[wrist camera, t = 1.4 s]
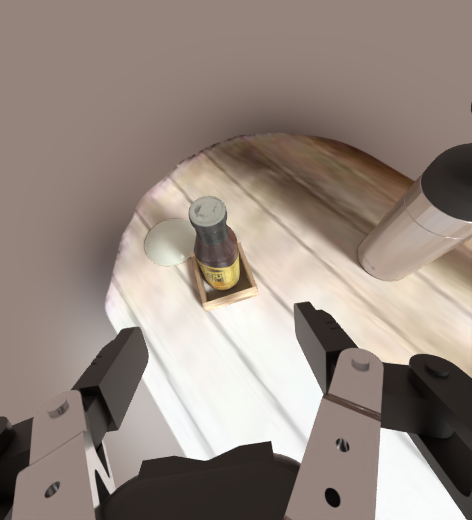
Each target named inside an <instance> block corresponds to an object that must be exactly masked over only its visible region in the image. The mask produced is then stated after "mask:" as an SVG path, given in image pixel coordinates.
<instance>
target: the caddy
mask: <svg viewBox="0 0 472 520" xmlns="http://www.w3.org/2000/svg"><path fill="white" fill-rule="evenodd" d="M237 243H238V250H239V257H240V260H241V262H242V265H243V268H244V270H245V273H246V276H247V279H248V281H249V284H250V287H251V288H249V289H246V290H243V291H240V292H237V293H234V294H230V295H227V296H224V297H221V298H218V299H215V300H212V301H209V302H208V298H207V295H206V291H205V287H204V283H203V279H202V276H201V272H200V268H199V264H198V261H197V259H196V257H195V254H194V253H192V254H190V256H191V260H192V264H193V268H194V272H195V276H196V280H197V284H198V288H199V292H200V296H201V300H202V304H203V308H204V309H205V310H206V311H207V312H208V311H211V310H214V309H217V308H220V307H223V306H226V305H229V304H232V303H235V302H238V301H241V300H244V299H247V298H251V297H254V296H257V295H258V288H257V285H256V283H255V280H254V278H253V275H252V272H251V270H250V267H249V264H248V262H247V259H246V257H245V254H244V251H243V249H242V246H241V243H240V241H239V239H238V240H237Z"/></svg>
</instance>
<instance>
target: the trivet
mask: <svg viewBox="0 0 472 520" xmlns="http://www.w3.org/2000/svg"><path fill="white" fill-rule="evenodd" d="M195 239H196V231H195V228H194V227H193V226H192V225H191V223H190V222H188V221H186V220H183V219H168V220H165V221H162V222H160V223H159V224H157V225H156V226H154V227H153V228H152V229H151V230H150V232H149V233H148V235H147V237H146V240H145V252H146V254H147V256H148V257H149V258H150V259H151V260H152V261H153V262H154V263H156V264H158V265H161V266H175V265H179V264H181V263H183V262H185V261H186V260H188V259H189V258H190V257H191V256H190V254H192V253H194V246H195Z"/></svg>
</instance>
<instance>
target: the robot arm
mask: <svg viewBox="0 0 472 520" xmlns="http://www.w3.org/2000/svg"><path fill="white" fill-rule="evenodd" d="M471 112H472V104H471ZM471 238H472V143H470V144H463V145H458V146H455V147H452V148H450V149H448V150H446V151H444V152H443V153H442V154H440V155H439V156H438V157H437V158H436V159H435V160H434V161H433V162H432V163H431V164H430V165H429V166H428V168H427V169H426V170H425V171H424V172H423V173H422V175H421V176H420V177H419V178H418V179H417V180H416V181H415V182H414V184H413V185H412V186H411V187H410V188H409V189H408V191H407V192H406V193H405V194H404V195H403V196H402V197H401V199H400V200H399V201H398V202H397V203H396V204H395V205H394V206H393V208H392V209H391V210H390V211H389V212H388V213H387V214H386V216H385V217H384V218H383V219H382V220H381V221H380V222H379V224H378V225H377V226H376V227H375V228H374V229H373V230H372V231H371V233H370V234H369V235H368V236H367V237H366V238H365V239H364V240H363V242H362V243H361V244H360V246H359V248H358V259H359V262H360V264H361V266H362V267H363V268H364V269H365V270H366V271H367V272H368V273H369V274H371V275H372V276H374V277H376V278H378V279H381V280H385V281H398V280H400V279H403V278H404V277H406V276H408V275H410V274H411V273H413V272H415V271H416V270H418V269H420V268H422V267H423V266H425V265H427V264H429V263H430V262H432V261H434V260H435V259H437V258H439V257H440V256H442V255H444V254H445V253H447V252H449V251H451V250H452V249H454V248H456V247H457V246H459V245H461V244H462V243H464V242H466V241H468V240H469V239H471ZM294 320H295V332H296V337H297V340H298V342H299V344H300V346H301V348H302V351H303V353H304V355H305V357H306V359H307V361H308V363H309V365H310V367H311V369H312V371H313V373H314V375H315V377H316V379H317V382H318V384H319V386H320V388H321V390H322V392H323V394H324V395H323V397H322V400H321V403H320V406H319V409H318V412H317V416H316V419H315V422H314V425H313V428H312V431H311V434H310V438H309V441H308V444H307V447H306V450H305V453H304V456H303V460H302V463H299V462H298V461H296V460H294V459H292V458H290V457H288V456H284V455H281V454H276V453H273V449H272V444H271V441H268V442H261V443H255V444H248V445H242V446H238V447H236V448H234V449H232V450H230V451H227V452H225V453H223V454H221V455H219V456H217V457H214V458H212V459H210V460H207V461H202V460H196V459H190V458H184V457H178V456H170V457H164V458H157V459H151V460H145V461H143V462H142V465H141V468H140V471H139V475H137V476H135V477H133V478H132V479H130V480H128V481H127V482H125V483H124V484H123V485H121V486H120V487H119V488H117V490H116V488H115V485H114V481H113V477H112V473H111V468H110V465H109V460H108V456H107V452H106V447H105V444H104V441H103V437H104V435H105V433H106V432H109V431H116V430H118V429H119V428H120V425H121V423H122V421H123V418H124V416H125V414H126V412H127V409H128V407H129V404H130V402H131V400H132V398H133V395H134V393H135V391H136V389H137V386H138V384H139V382H140V380H141V377H142V375H143V373H144V370H145V368H146V366H147V363H148V357H149V355H148V349H147V346H146V343H145V340H144V337H143V334H142V331H141V329H140V327H131V328H124V329H122V330H121V331H120V332H119V334H118V335H117V337H116V338H115V339H114V340H112V341H111V342H110V343H108V344H107V345H106V346H105V347H104V348H102V350H101V351H100V352H99V354H98V355H97V356H96V358H95V359H94V360H93V361H92V363H91V365H90V366H89V367H88V368H87V369H86V371H85V372H84V373H83V375H82V376H81V377H80V379H79V380H78V381H77V382H76V384H75V385H74V386H73V388H72V389H71V390H70V391H66V392H63V393H61V394H59V395H57V396H55V397H54V398H52V399H51V400H49V401H48V402H47V403H45V404H44V405H43V406H42V407H41V408H40V409H39V411H38V412H37V413H36V415H35V416H34V417H33V418H30V419H28V420H25V421H22V422H20V423H17V424H15V425H11V423H10V422H9V420H8V419H7V418H6V417H0V520H375V508H376V492H377V475H378V459H379V443H380V428H386V429H391V430H397V431H402V432H407V433H408V435H409V436H410V438H411V439H412V441H413V442H414V443H415V445H416V446H417V448H418V449H419V451H420V452H421V454H422V455H423V457H424V458H425V459H426V461H427V462H428V464H429V465H430V467H431V468H432V470H433V471H434V473H435V474H436V475H437V477H438V478H439V480H440V481H441V483H442V484H443V486H444V487H445V489H446V490H447V491H448V493H449V494H450V496H451V497H452V499H453V500H454V502H455V503H456V505H457V506H458V507H459V509H460V510H461V512H462V513H463V515H464V516H465V518H466V519H467V520H472V378H471V377H470V376H468V375H467V374H466V373H465V372H463V371H462V370H461V369H460V368H459V367H457V366H456V365H455V364H453V363H451V362H449V361H448V360H445V359H443V358H441V357H438V356H434V355H429V354H417V355H414V356H412V357H411V358H410V361H409V365H401V364H391V363H384V362H381V360H380V359H379V358H378V357H377V356H376V355H374V354H373V353H371V352H369V351H367V350H364V349H359V348H358V347H357V345H356V344H355V343H354V342H353V341H352V340H351V338H350V337H349V336H348V335H347V334H346V332H345V331H344V330H343V329H342V328H341V326H340V325H339V324H338V323H336V321H335V319H334V318H333V317H332V316H331V315H330V314H329V313H327V312H325V311H323V310H315V308H314V307H313V306H312V304H311V303H310V302H309V301H308V302H301V303H295V304H294Z"/></svg>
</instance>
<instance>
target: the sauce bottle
mask: <svg viewBox="0 0 472 520" xmlns="http://www.w3.org/2000/svg"><path fill="white" fill-rule="evenodd" d="M189 219H190V222H191V225H192V226H193V227H194V228H195V231H196V239H195V246H194V254H195V257H196V259H197V261H198V263H199V266H200V268H201V270H202V272H203V274H204V276H205V278H206V280H207V282H208V284H209V285H210V286H211V287H212V288H214V289H216V290H220V291H225V290H229V289H231V288H233V287H234V286H235V285H236V283H237V281H238V279H239V275H240V269H239V250H238V243H237V238H236V235H235V234H234V232H233V231H232V230H231V228H230V227H228V226H227V225H226V220H227V211H226V207H225V205H224V203H223V202H222V201H221V200H219V199H218V198H216V197H212V196H207V197H201V198H199V199H197V200H196V201H194V202H193V203H192V205H191V206H190V208H189Z"/></svg>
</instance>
